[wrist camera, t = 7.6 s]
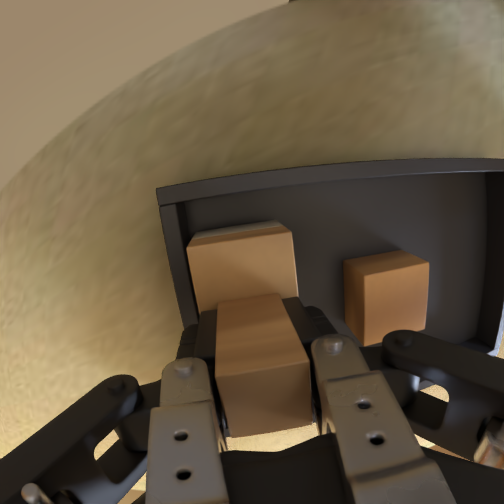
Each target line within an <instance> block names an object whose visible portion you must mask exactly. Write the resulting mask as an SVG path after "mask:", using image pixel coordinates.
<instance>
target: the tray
mask: <svg viewBox="0 0 504 504" xmlns="http://www.w3.org/2000/svg"><path fill="white" fill-rule="evenodd" d="M156 194H157V200H158V205H159V206H160V207H159V211H160V217H161V223H162V228H163V234H164V239H165V244H166V249H167V254H168V259H169V264H170V269H171V274H172V278H173V283H174V287H175V292H176V296H177V301H178V305H179V309H180V313H181V318H182V322H183V326H184V330H185V329H186V328H187V327H188V326H189V325H193V324H199V318H200V314H199V309H198V305H197V300H196V295H195V290H194V285H193V281H192V276H191V270H190V265H189V260H188V255H187V250H186V249H187V246H188V244H189V243H190V241H191V239H192V237H193V236H194V234H195V232H199V231H206V230H212V229H218V228H225V227H231V226H238V225H244V224H251V223H257V222H264V221H271V220H277V221H278V222H280V223H281V224H282V225H284V226H285V227H286V228H287V229H289V230H290V231H291V232H292V239H293V247H294V257H295V266H296V275H297V285H298V296H299V299H300V301H301V302H302V304H303V306H304V307H307V306H312V305H313V306H315V307H317V308H319V309H321V310H322V311H323V313H324V314H325V315H326V317H327V318H328V320H329V322H331V324H332V325H333V326H334V328H335V329H336V331H337V332H338V333H339V334H343V335H347V336H350V337H352V338H353V339H354V340H355V342H356V343H357V345H358V347H377V346H382V342H379V343H376V344H372V345H368V346H363V345H362V344H361V342H360V341H359V340H358V339H357V337H356V336H355V335H354V334H353V332H352V331H351V330H350V329H349V327H348V326H347V325H346V324H345V301H344V277H343V260H347V259H353V258H359V257H364V256H370V255H376V254H381V253H387V252H392V251H398V250H403V251H406V252H408V253H410V254H412V255H414V256H417V257H419V258H421V259H423V260H425V261H428V262H429V283H428V299H427V312H426V322H425V329H423V330H420V331H417V332H420V333H423V334H426V335H429V336H432V337H435V338H438V339H441V340H444V341H447V342H450V343H454V344H457V345H460V346H463V347H466V348H469V349H473V350H476V351H479V352H482V353H485V354H489V355H492V356H496V355H498V351H499V346H500V344H501V340H502V335H503V331H504V159H491V158H423V159H395V160H376V161H360V162H346V163H334V164H323V165H312V166H302V167H293V168H284V169H276V170H267V171H260V172H252V173H245V174H238V175H231V176H224V177H218V178H211V179H205V180H199V181H193V182H187V183H182V184H176V185H171V186H165V187H160V188H156ZM432 385H435V384H434V383H432V382H429V381H427V380H424V379H422V378H420V381H419V387H418V390H419V391H420V390H422V389H425V388H427V387H430V386H432ZM312 411H313V423H314V422H316V420H315V414H314V401H313V399H312ZM222 424H223V427H224V431H225V436H226V437H231V436H230V432H229V429H228V425H227V422H226V418H225V414H224V413H223V421H222Z"/></svg>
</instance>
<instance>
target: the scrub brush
mask: <svg viewBox="0 0 504 504" xmlns="http://www.w3.org/2000/svg"><path fill="white" fill-rule="evenodd" d="M186 250H187V255H188V260H189V265H190V270H191V276H192V281H193V285H194V290H195V295H196V300H197V305H198V309H199V314H200V312H201V311H207V310H214V309H217V329H216V354H215V380H216V384H217V388H218V392H219V396H220V400H221V403H222V407H223V411H224V414H225V418H226V422H227V425H228V429H229V432H230V436H231V437H232V438H236V437H244V436H251V435H258V434H264V433H270V432H276V431H282V430H287V429H292V428H297V427H302V426H307V425H311V424H312V423H313V411H312V390H311V372H310V360H309V358H308V356H307V354H306V352H305V349H304V347H303V345H302V343H301V341H300V339H299V337H298V334H297V332H296V330H295V328H294V326H293V324H292V322H291V319H290V317H289V315H288V313H287V311H286V309H285V307H284V305H283V302H282V300H281V299H284V298H290V297H296V296H298V285H297V275H296V266H295V257H294V247H293V239H292V232H291V231H290V230H289V229H287V228H286V227H285V226H284V225H282V224H281V223H280V222H278V221H277V220H271V221H264V222H257V223H251V224H244V225H238V226H231V227H225V228H218V229H212V230H206V231H199V232H195V234H194V236H193V237H192V239H191V241H190V243H189V244H188V246H187V249H186ZM298 298H299V296H298Z"/></svg>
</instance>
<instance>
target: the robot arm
mask: <svg viewBox="0 0 504 504" xmlns="http://www.w3.org/2000/svg"><path fill="white" fill-rule="evenodd" d="M281 300H282V302H283V305H284V307H285V309H286V311H287V313H288V315H289V317H290V319H291V322H292V324H293V326H294V328H295V330H296V332H297V334H298V337H299V339H300V341H301V343H302V345H303V347H304V349H305V352H306V354H307V356H308V358H309V360H310V372H311V390H312V399H313V401H314V414H315V420H316V425H317V431H318V436H316V437H314V438H312V439H309V440H307V441H305V442H302V443H300V444H297V445H295V446H292V447H290V448H287V449H285V450H282V451H278V452H258V451H239V450H232V451H229V450H228V445H227V441H226V436H225V431H224V427H223V424H222V421H223V413H224V411H223V407H222V403H221V400H220V396H219V392H218V388H217V384H216V380H215V354H216V329H217V309H214V310H207V311H201V312H200V318H199V324H193V325H189V326H188V327H187V328H186V329H185V330H184V331H183V332H182V336H181V340H180V346H179V348H178V352H177V356H176V360H175V361H173V362H171V363H169V364H168V365H167V366H165V368H164V369H163V371H162V379H161V380H158V381H156V382H152V383H149V384H145V385H141V386H139V384H138V381H137V379H136V378H135V377H133V376H131V375H125V374H124V375H116V376H112V377H109V378H107V379H105V380H104V381H102V382H101V383H100V384H98V385H97V386H96V387H94V388H93V389H92V390H91V391H89V392H88V393H87V394H85V395H84V396H83V397H81V398H80V399H79V400H78V401H76V402H75V403H74V404H72V405H71V406H70V407H69V408H67V409H66V410H65V411H63V412H62V413H61V414H59V415H58V416H57V417H56V418H54V419H53V420H52V421H50V422H49V423H48V424H46V425H45V426H44V427H43V428H41V429H40V430H39V431H37V432H36V433H35V434H33V435H32V436H31V437H29V438H28V439H27V440H25V441H24V442H23V443H22V444H20V445H19V446H18V447H16V448H15V449H14V450H12V451H11V452H10V453H8V454H7V455H6V456H4V457H3V458H2V459H0V504H117V503H118V502H119V501H120V500H121V499H122V498H123V497H124V496H125V495H126V493H128V491H129V490H130V489H131V488H132V487H133V486H134V485H135V484H136V483H137V482H138V480H139V479H140V478H141V477H142V476H143V475H144V474H145V473H146V471H147V473H146V492H145V493H144V494H142V495H141V496H140V497H139V498H138V499H136V500H135V501H134V502H133V503H132V504H504V359H502V358H498V357H495V356H492V355H489V354H485V353H482V352H479V351H476V350H473V349H469V348H466V347H463V346H460V345H457V344H454V343H450V342H447V341H444V340H441V339H438V338H435V337H432V336H429V335H426V334H423V333H420V332H416V331H413V330H406V329H403V330H395V331H392V332H389V333H388V334H386V335H385V336H384V337H383V339H382V346H377V347H358V345H357V343H356V342H355V340H354V339H353V338H352V337H350V336H347V335H343V334H339V333H338V332H337V331H336V329H335V328H334V326H333V325H332V324H331V322H329V320H328V318H327V317H326V315H325V314H324V313H323V311H322V310H321V309H319V308H317V307H315V306H313V305H312V306H307V307H304V306H303V304H302V302H301V301H300V299H299V298H298V296H296V297H290V298H284V299H281ZM420 378H422V379H424V380H427V381H429V382H432V383H434V384H436V385H439V386H441V387H443V388H445V389H446V391H447V392H448V394H449V402H445V401H443V400H440V399H438V398H436V397H433V396H431V395H429V394H426V393H424V392H422V391H419V390H418V387H419V381H420ZM112 430H115V432H116V433H117V435H118V437H119V439H118V440H117V441H116V442H115V443H114V444H113V445H112V446H111V447H110V448H109V449H108V450H107V451H106V452H105V453H104V454H103V455H102V456H101V457H100V458H99V459H98V460H95V458H94V450H95V447H96V446H97V444H98V443H99V442H101V441H102V440H103V439H104V438H105V437H106V436H107V435H108V434H109V433H110V432H111V431H112ZM414 434H416V435H418V436H420V437H422V438H424V439H426V440H428V441H430V442H432V443H434V444H436V445H438V446H440V447H442V448H444V449H447V450H449V451H451V452H453V453H455V454H457V455H460V456H462V457H464V458H466V459H468V460H470V461H468V460H465V459H461V458H458V457H454V456H451V455H448V454H444V453H441V452H438V451H435V450H432V449H429V448H426V447H423V446H420V445H419V443H418V441H417V439H416V437H415V435H414ZM472 461H473V462H472Z"/></svg>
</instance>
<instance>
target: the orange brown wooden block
mask: <svg viewBox="0 0 504 504" xmlns="http://www.w3.org/2000/svg"><path fill="white" fill-rule="evenodd" d="M343 277H344V301H345V324H346V325H347V326H348V327H349V329H350V330H351V331H352V332H353V334H354V335H355V336H356V337H357V339H358V340H359V341H360V342H361V344H362V345H363V346H368V345H372V344H376V343H379V342H382V339H383V337H384V336H385V335H386V334H388V333H389V332H392V331H395V330H403V329H406V330H413V331H416V332H417V331H420V330H423V329H425V322H426V312H427V299H428V283H429V262H428V261H425V260H423V259H421V258H419V257H417V256H414V255H412V254H410V253H408V252H406V251H403V250H398V251H392V252H387V253H381V254H376V255H370V256H364V257H359V258H353V259H347V260H343Z"/></svg>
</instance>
